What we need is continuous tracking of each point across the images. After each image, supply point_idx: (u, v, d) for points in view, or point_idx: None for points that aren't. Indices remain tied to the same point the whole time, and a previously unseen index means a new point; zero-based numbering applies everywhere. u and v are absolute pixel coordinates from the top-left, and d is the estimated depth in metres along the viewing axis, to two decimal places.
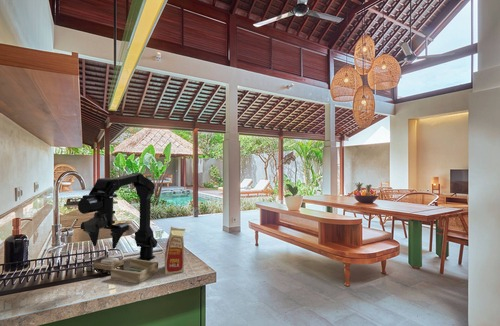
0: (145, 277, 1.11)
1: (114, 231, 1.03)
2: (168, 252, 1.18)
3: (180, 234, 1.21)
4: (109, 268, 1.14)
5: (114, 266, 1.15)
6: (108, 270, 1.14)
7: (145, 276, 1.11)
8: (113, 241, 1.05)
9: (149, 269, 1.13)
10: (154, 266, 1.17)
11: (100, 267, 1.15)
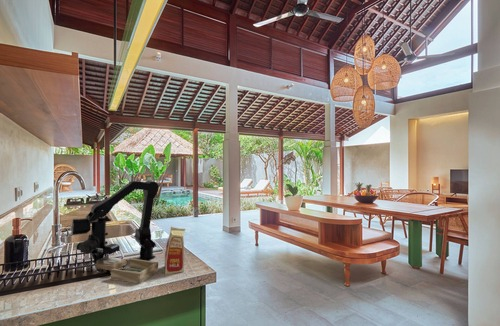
0: (145, 277, 1.11)
1: (106, 252, 1.15)
2: (168, 252, 1.18)
3: (180, 234, 1.21)
4: (112, 268, 1.13)
5: (117, 266, 1.15)
6: None
7: (145, 276, 1.11)
8: (97, 259, 1.18)
9: (149, 269, 1.13)
10: (154, 266, 1.17)
11: (103, 267, 1.14)
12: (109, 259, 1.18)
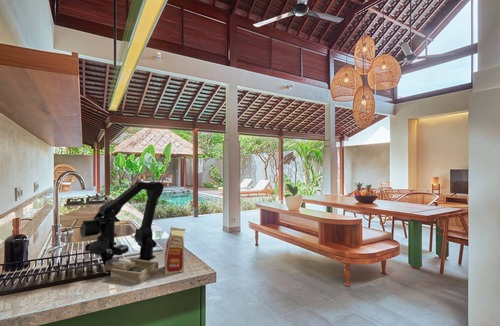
0: (145, 277, 1.11)
1: (115, 253, 1.14)
2: (168, 252, 1.18)
3: (180, 234, 1.21)
4: None
5: (126, 268, 1.14)
6: None
7: (145, 276, 1.11)
8: (106, 260, 1.17)
9: (149, 269, 1.13)
10: (154, 266, 1.17)
11: None
12: (118, 260, 1.17)
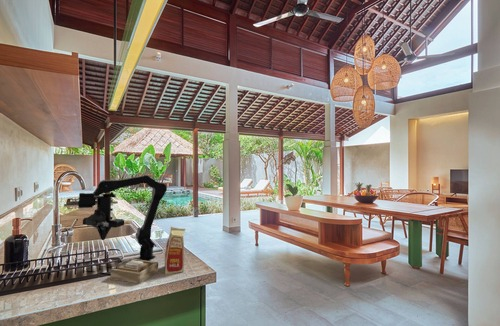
0: (145, 277, 1.11)
1: (111, 226, 1.19)
2: (168, 252, 1.18)
3: (180, 234, 1.21)
4: None
5: (139, 270, 1.12)
6: None
7: (145, 276, 1.11)
8: (102, 233, 1.22)
9: (149, 269, 1.13)
10: (154, 266, 1.17)
11: None
12: (131, 262, 1.15)
